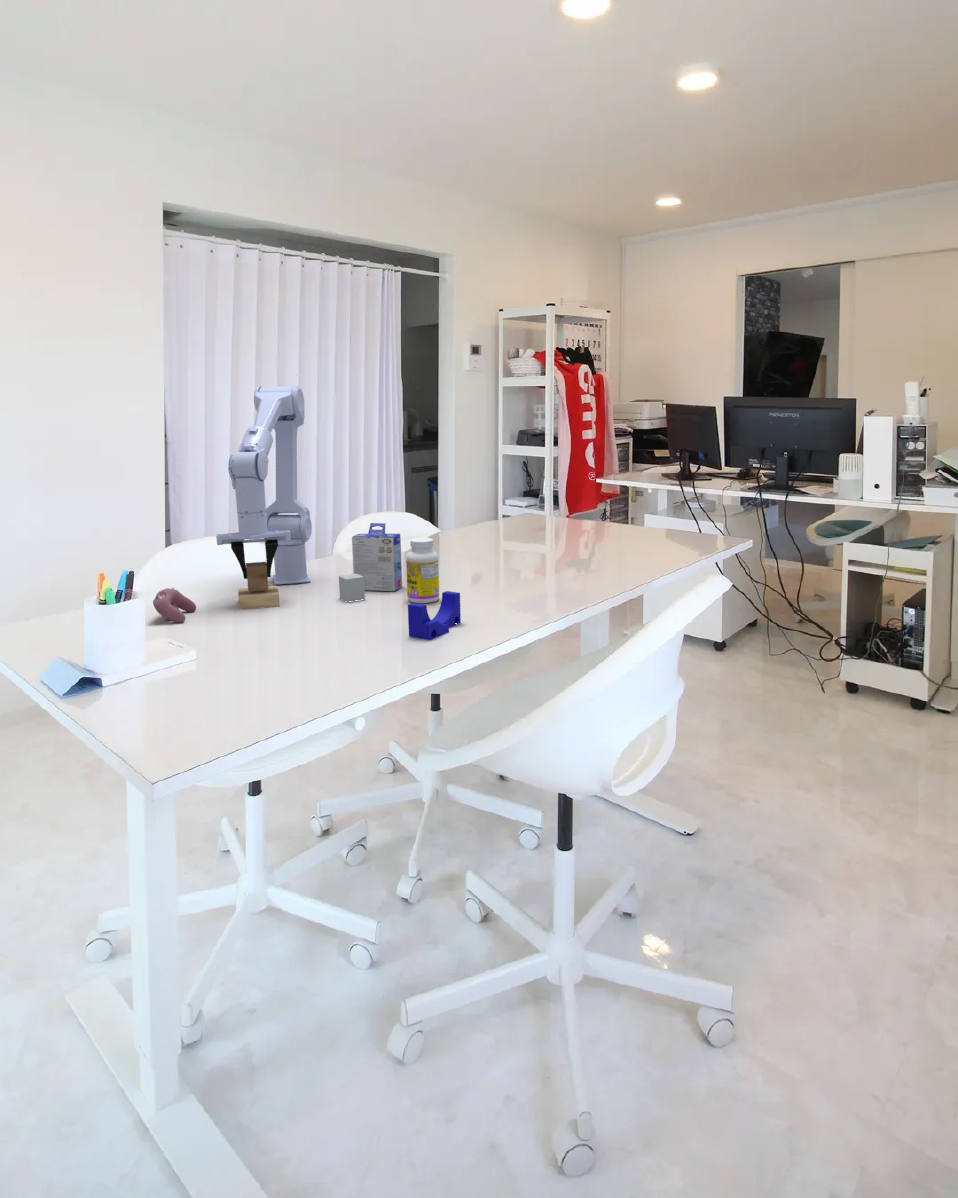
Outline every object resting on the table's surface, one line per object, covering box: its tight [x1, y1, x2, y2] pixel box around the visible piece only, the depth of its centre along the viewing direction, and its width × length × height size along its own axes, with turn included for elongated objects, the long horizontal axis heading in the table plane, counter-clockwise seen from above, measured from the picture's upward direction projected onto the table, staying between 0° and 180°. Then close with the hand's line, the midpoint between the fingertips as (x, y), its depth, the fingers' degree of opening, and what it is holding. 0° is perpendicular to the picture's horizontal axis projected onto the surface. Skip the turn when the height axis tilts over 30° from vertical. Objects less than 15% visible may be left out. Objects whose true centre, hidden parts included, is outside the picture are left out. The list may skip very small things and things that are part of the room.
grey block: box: [338, 573, 366, 603], centre depth 170 cm, size 4×4×5 cm
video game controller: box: [152, 587, 197, 624], centre depth 158 cm, size 10×5×7 cm, turn 5°
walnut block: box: [245, 561, 269, 591], centre depth 167 cm, size 4×4×5 cm
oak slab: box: [237, 585, 281, 610], centre depth 168 cm, size 8×8×3 cm
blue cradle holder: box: [407, 590, 462, 641], centre depth 147 cm, size 12×4×6 cm, turn 147°
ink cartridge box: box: [351, 522, 403, 592], centre depth 179 cm, size 10×6×14 cm, turn 79°
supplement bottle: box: [405, 537, 440, 604], centre depth 168 cm, size 7×7×13 cm
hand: (257, 577), depth 167 cm, fingers closed on walnut block, 4 cm apart
